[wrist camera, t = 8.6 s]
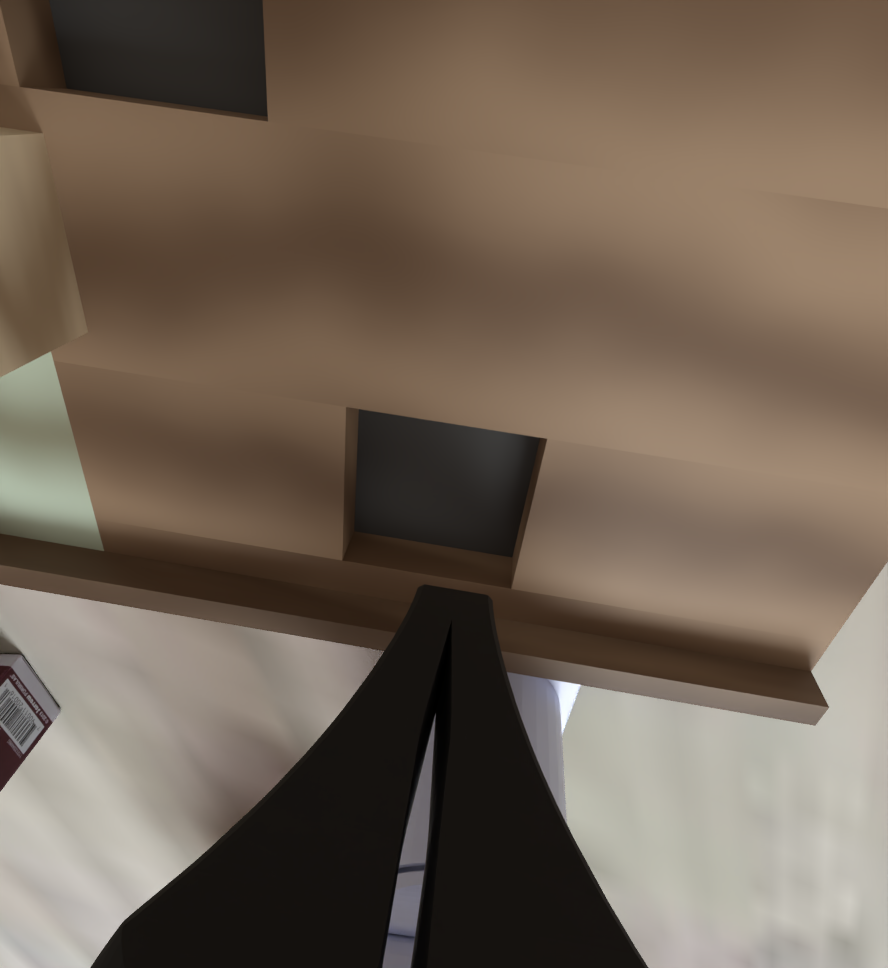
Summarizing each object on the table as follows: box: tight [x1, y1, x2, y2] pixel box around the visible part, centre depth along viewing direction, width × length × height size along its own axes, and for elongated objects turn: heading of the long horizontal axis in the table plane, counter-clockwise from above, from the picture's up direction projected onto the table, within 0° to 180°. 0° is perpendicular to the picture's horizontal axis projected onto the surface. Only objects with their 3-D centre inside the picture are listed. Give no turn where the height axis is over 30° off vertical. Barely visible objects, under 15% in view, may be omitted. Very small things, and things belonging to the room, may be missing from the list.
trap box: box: [0, 0, 888, 725], centre depth 16 cm, size 24×32×4 cm
